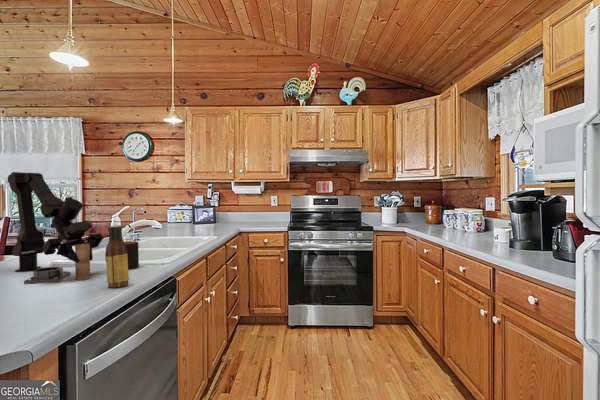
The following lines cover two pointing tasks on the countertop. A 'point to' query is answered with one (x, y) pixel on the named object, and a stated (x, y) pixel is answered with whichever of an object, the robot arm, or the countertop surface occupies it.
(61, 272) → the bracket
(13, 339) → the countertop surface
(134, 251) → the mug
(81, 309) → the countertop surface
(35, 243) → the robot arm
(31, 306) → the countertop surface
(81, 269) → the brown round cylinder
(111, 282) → the sauce bottle
